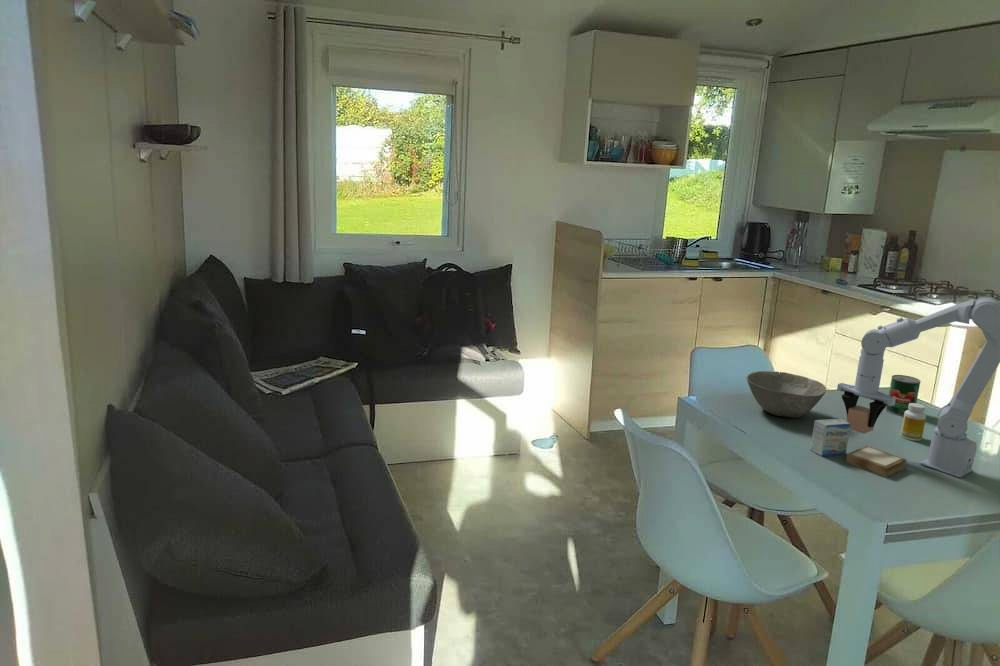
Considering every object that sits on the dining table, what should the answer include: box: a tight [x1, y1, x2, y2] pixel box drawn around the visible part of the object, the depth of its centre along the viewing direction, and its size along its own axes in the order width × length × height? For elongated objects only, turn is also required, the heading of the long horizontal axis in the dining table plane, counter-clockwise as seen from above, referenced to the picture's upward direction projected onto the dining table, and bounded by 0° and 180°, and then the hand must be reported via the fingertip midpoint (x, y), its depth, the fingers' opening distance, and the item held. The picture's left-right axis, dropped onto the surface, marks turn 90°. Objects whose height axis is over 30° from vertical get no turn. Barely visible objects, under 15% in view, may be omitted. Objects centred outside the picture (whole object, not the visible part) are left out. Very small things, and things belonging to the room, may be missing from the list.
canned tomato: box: [885, 374, 921, 417], centre depth 220 cm, size 8×8×11 cm
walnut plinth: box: [845, 445, 907, 478], centre depth 180 cm, size 10×10×2 cm
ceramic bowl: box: [745, 370, 827, 419], centre depth 214 cm, size 22×23×10 cm
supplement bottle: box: [899, 402, 927, 442], centre depth 200 cm, size 5×5×10 cm
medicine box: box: [809, 418, 851, 457], centre depth 187 cm, size 8×4×9 cm, turn 105°
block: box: [846, 404, 875, 435], centre depth 190 cm, size 5×5×6 cm
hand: (860, 423), depth 190 cm, fingers closed on block, 5 cm apart
